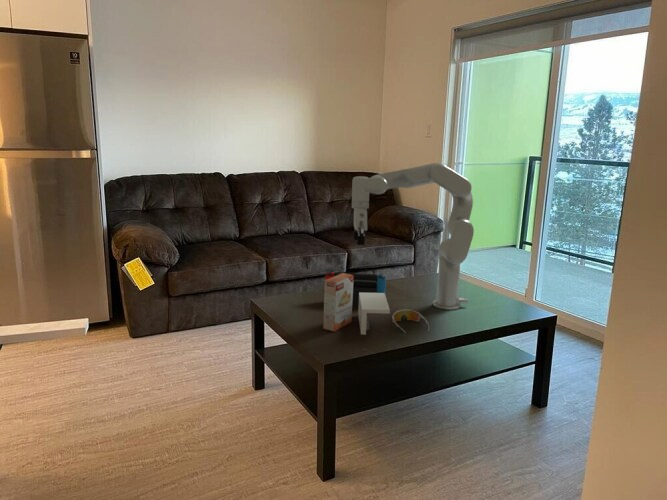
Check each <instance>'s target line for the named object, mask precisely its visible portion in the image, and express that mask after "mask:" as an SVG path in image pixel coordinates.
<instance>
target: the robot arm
mask: <svg viewBox="0 0 667 500" xmlns="http://www.w3.org/2000/svg"><path fill="white" fill-rule="evenodd" d="M429 184H436V185H438V186H440V187H441V188H443V189H444V190H446V191H448V192H449V194H450V195H451V197H452V199H453V200H452V201H453V203H452V208H451V211H450V215H449V219H448V223H447V226H446V229H447V233H448V235H450V237H449V238H445V239H444V240H442V241H441V243H440V244H439V247H438V273H437V284H436V285H437V289H436V299H434V300H433V301H432V305H433V306H434V307H435V308H437V309H442V310H457V309H460V308H461V304H468V303H469V299H468V298H464V297H460V296H459V285H460V284H459V282H460V274H461V272H460V271H461V264H462V263H464V261H466V259H467V257H468V254H469V250H470V248H471V244H472V243H473V237H474V231H475V230H474V225H473V224H472V222H471V221H470V219H471V214H472V210H473V205H474V199H473V194H472V189H473V186H472V183H471V182H470V180H469V179H468V178H466V177H464V176H462V175H461V174H459V173H458V172H456V171H455V170H453V169H452V168H450V167H448V166H447V165H445V164H443V163H441V162H440V163H439V162H433V163H432V162H431V163H429V164H424V165H420V166H419V165H417V166H414V167H408V168H403V169H399V170H394V171H388V172H383V173H379V174H374V175H372V176H371V177H368V176H354V177H353V178H352V184H351V186H352V188H351V208H352V209H353V227H354V228H353V229H354V231H353V232H354V233H353V234H354V235H353V240H354V241H356V243H357V245H358V246H365V239H366V236H365V235H366V234H365V232H367V231H368V211H367V209H369V206H370V203H369V202H370V194H373V195H382V194H385V192H386V191H388V190H390V189H397V188H403V189H411V188H416V187H420V186H426V185H429Z"/></svg>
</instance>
